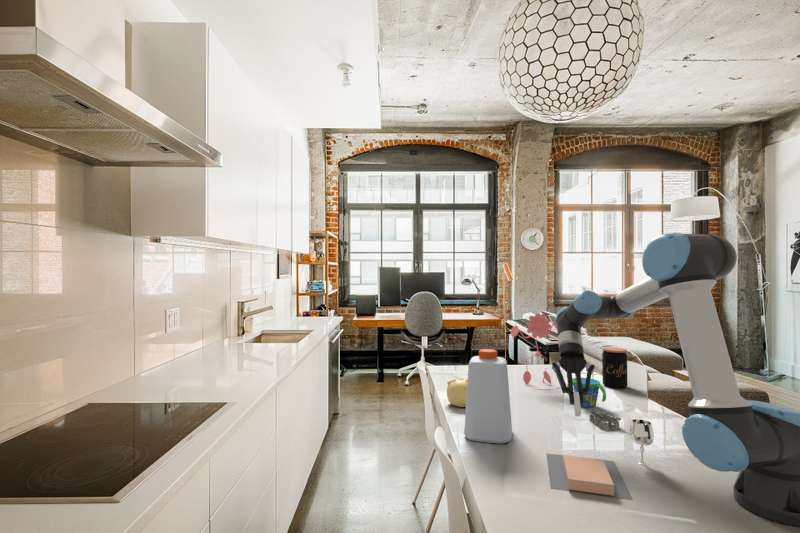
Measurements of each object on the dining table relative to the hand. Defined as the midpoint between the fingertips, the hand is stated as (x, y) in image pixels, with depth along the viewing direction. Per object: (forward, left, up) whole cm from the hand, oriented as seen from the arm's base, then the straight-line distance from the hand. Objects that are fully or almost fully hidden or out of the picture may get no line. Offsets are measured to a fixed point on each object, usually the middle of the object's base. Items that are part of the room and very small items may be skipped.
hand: (577, 414), depth 121 cm
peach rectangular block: (-7, +7, -10) cm, 14 cm away
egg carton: (+13, -30, -13) cm, 35 cm away
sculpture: (+55, +1, -12) cm, 57 cm away
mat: (-9, +9, -12) cm, 18 cm away
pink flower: (+61, -50, -12) cm, 80 cm away
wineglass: (-13, -10, -12) cm, 20 cm away
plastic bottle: (+25, +13, -12) cm, 30 cm away
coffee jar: (+43, -81, -12) cm, 93 cm away
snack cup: (+30, -43, -12) cm, 54 cm away
